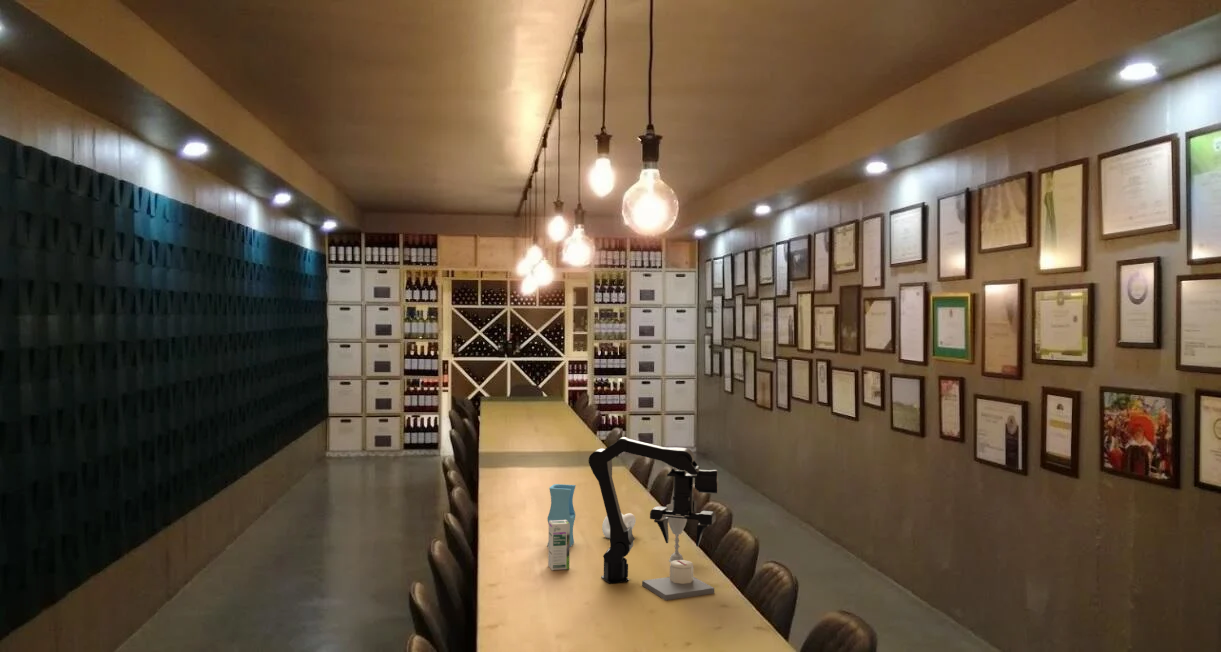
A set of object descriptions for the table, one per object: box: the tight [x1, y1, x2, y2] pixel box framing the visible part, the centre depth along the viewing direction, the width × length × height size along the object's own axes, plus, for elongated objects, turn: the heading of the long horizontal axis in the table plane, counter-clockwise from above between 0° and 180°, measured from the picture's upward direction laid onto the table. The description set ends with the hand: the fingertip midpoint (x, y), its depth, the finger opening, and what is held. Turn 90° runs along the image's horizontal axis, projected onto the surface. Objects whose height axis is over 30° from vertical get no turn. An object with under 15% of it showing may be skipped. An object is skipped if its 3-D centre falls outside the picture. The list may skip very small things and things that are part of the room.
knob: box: [669, 559, 695, 584], centre depth 246 cm, size 7×7×5 cm
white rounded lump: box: [601, 512, 637, 540], centre depth 299 cm, size 11×12×9 cm
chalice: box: [665, 503, 688, 563], centre depth 271 cm, size 7×7×18 cm
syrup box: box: [547, 520, 571, 571], centre depth 262 cm, size 6×6×14 cm
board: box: [641, 576, 715, 601], centre depth 242 cm, size 16×14×5 cm
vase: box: [547, 483, 576, 548], centre depth 289 cm, size 8×8×20 cm
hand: (682, 544), depth 246 cm, fingers open, 9 cm apart
